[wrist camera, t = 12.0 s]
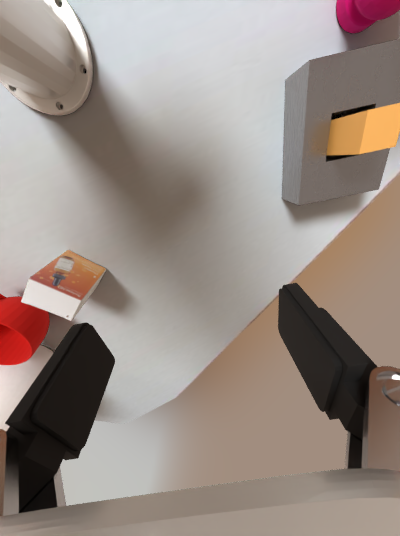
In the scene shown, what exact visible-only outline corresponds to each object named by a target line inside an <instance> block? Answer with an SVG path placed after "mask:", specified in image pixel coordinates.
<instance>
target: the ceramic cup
mask: <svg viewBox="0 0 400 536" xmlns="http://www.w3.org/2000/svg"><path fill="white" fill-rule="evenodd" d="M21 300H22V297H8V298H6V297H5V296H3V295H1V294H0V365H17V364H21V363H23V362H26V361H27V360H28V359H30V358H31V357H32V355H33V354H34V353H35V351H36V350H37V349H38V347H39V346H40V344H41V343H42V341H43V339H44V338H45V336H46V334H47V331H48V328H49V322H50V321H49V314H48V311H45V310H42V309H40V308H37V307H34V306H32V305H29V304H25V303H22V302H21Z"/></svg>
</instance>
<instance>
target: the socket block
mask: <svg viewBox="0 0 400 536" xmlns="http://www.w3.org/2000/svg"><path fill="white" fill-rule="evenodd" d="M397 103H400V39H396V40H392V41H388V42H384V43H379V44H375V45H371V46H367V47H363V48H358V49H354V50H350V51H346V52H342V53H337V54H333V55H329V56H325V57H321V58H316V59H312V60H309V61H308V62H307V63H305V64H304V65H303V66H302V67H301V68H299V69H298V70H297V71H296V72H295V73H293V74H292V75H291V76H290V77H288V78H287V79H286V80H285V113H284V146H283V180H282V199H284V200H287V201H289V202H291V203H294V204H296V205H304V204H309V203H314V202H319V201H324V200H328V199H333V198H338V197H343V196H348V195H353V194H358V193H363V192H368V191H373V190H378V189H379V187H380V183H381V179H382V176H383V172H384V168H385V165H386V161H387V157H388V154H389V150H390V148H386V149H382V150H377V151H372V152H368V153H363V154H356V155H332V156H327V157H326V154H327V147H328V139H329V131H330V124H331V116H333V115H338V114H342V116H341V117H345V116H348V115H352V114H356V113H359V112H363V111H367V110H371V109H375V108H379V107H384V106H388V105H392V104H397Z"/></svg>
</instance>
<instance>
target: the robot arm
mask: <svg viewBox="0 0 400 536" xmlns="http://www.w3.org/2000/svg"><path fill="white" fill-rule="evenodd" d="M62 4H63V6H62V7H61V5H62ZM85 70H87V72H86V74H85V72H84V71H85ZM92 78H93V64H92V56H91V51H90V47H89V43H88V40H87V37H86V34H85V32H84V29H83V27H82V24H81V23H80V21H79V19H78V17H77V15H76V13H75V12H74V10H73V9H72V7H71V6H70V4H69V3H68V2H67V0H0V82H1V83H2V84H3V86H4V87H5V88H6V89H7V90H8V91H9V92H10V93H11V94H12V95H13V96H15V97H16V98H17V99H18V100H20V101H21V102H22V103H24V104H25V105H27V106H29V107H31V108H32V109H35V110H37V111H40V112H42V113H46V114H50V115H59V116H60V115H66V114H70V113H72V112H74V111H76V110H77V109H78V108H79V107H81V106H82V105H83V103H84V102H85V100H86V99H87V97H88V94H89V92H90V89H91V84H92ZM62 105H63V109H62ZM278 329H279V333H280V335H281V337H282V339H283V341H284V343H285V345H286V347H287V349H288V351H289V353H290V354H291V356H292V358H293V360H294V362H295V364H296V366H297V368H298V370H299V372H300V373H301V375H302V377H303V379H304V381H305V383H306V385H307V387H308V389H309V390H310V392H311V394H312V396H313V398H314V400H315V402H316V404H317V405H318V407H319V409H320V410H321V411H322V412H324V411H325V412H326V414H327V415H328V417H329V419H330V420H331V419H338V418H339V419H340V421H341V422H342V424H343V426H344V428H345V429H346V430H347V431H348V434H347V445H346V457H345V468H344V469H341V470H340V469H339V470H330V471H321V472H312V473H303V474H294V475H285V476H278V477H271V478H263V479H255V480H248V481H241V482H233V483H226V484H218V485H211V486H203V487H197V488H189V489H182V490H175V491H168V492H161V493H154V494H146V495H139V496H132V497H125V498H118V499H111V500H104V501H97V502H91V503H83V504H76V505H69V506H66V502H65V495H64V489H63V483H62V477H61V470H60V464H61V462H62V460H63V459H65V460H69V459H76V458H78V457H79V454H80V451H81V449H82V448H83V447H84V446H85V444H86V442H87V439H88V436H89V434H90V431H91V428H92V425H93V422H94V420H95V417H96V414H97V411H98V409H99V406H100V403H101V400H102V397H103V395H104V392H105V389H106V386H107V383H108V381H109V378H110V375H111V372H112V369H113V367H114V364H115V359H114V356H113V355H112V353H111V352H110V350H109V349H108V348H107V346H106V345H105V343H104V342H103V340H102V339H101V337H100V336H99V335H98V333H97V332H96V330H95V329H94V327H93V326H92V325H89V324H88V323H81V324H76V325H73V326H72V327H71V329H70V330H69V331H68V333H67V334H66V336H65V337H64V339H63V340H62V341H61V343H60V344H59V346H58V347H57V349H56V350H55V352H54V353H53V354H52V356H51V357H50V359H49V360H48V362H47V363H46V365H45V366H44V367H43V369H42V370H41V372H40V373H39V375H38V376H37V378H36V379H35V380H34V382H33V383H32V385H31V386H30V388H29V389H28V391H27V392H26V393H25V395H24V396H23V398H22V399H21V401H20V402H19V404H18V405H17V406H16V408H15V409H14V411H13V412H12V414H11V415H10V416H9V418H8V419H7V421H6V422H5V424H7V425H8V426H10V427H9V428H8V430H7V431H5V430H3V429H0V536H400V369H398V368H394V367H391V366H381V367H377V366H376V365H375V364H374V362H373V361H372V360H371V359H370V358H369V357H368V356H367V355H366V354H365V353H364V352H363V350H362V349H361V348H360V347H359V346H358V345H357V344H356V343H355V342H354V341H353V340H352V338H351V337H350V336H349V335H348V334H347V333H346V332H345V331H344V330H343V329H342V327H341V326H340V325H339V324H338V323H337V322H336V321H335V320H334V319H333V318H332V317H331V315H330V314H329V313H328V312H327V311H326V310H324V309H323V308H318V307H317V305H316V304H315V303H314V302H313V301H312V300H311V299H310V297H309V296H308V295H307V294H306V293H305V292H304V291H303V289H302V288H301V287H300V286H299V285H298V284H297V283H293V284H287V285H283V287H282V289H280V290H279V318H278Z"/></svg>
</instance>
